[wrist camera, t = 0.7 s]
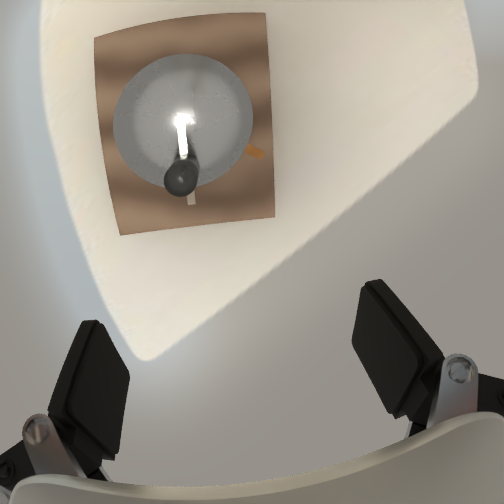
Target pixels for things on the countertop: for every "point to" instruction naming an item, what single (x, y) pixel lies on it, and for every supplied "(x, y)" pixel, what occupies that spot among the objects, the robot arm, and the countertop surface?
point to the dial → (183, 122)
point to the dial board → (248, 165)
